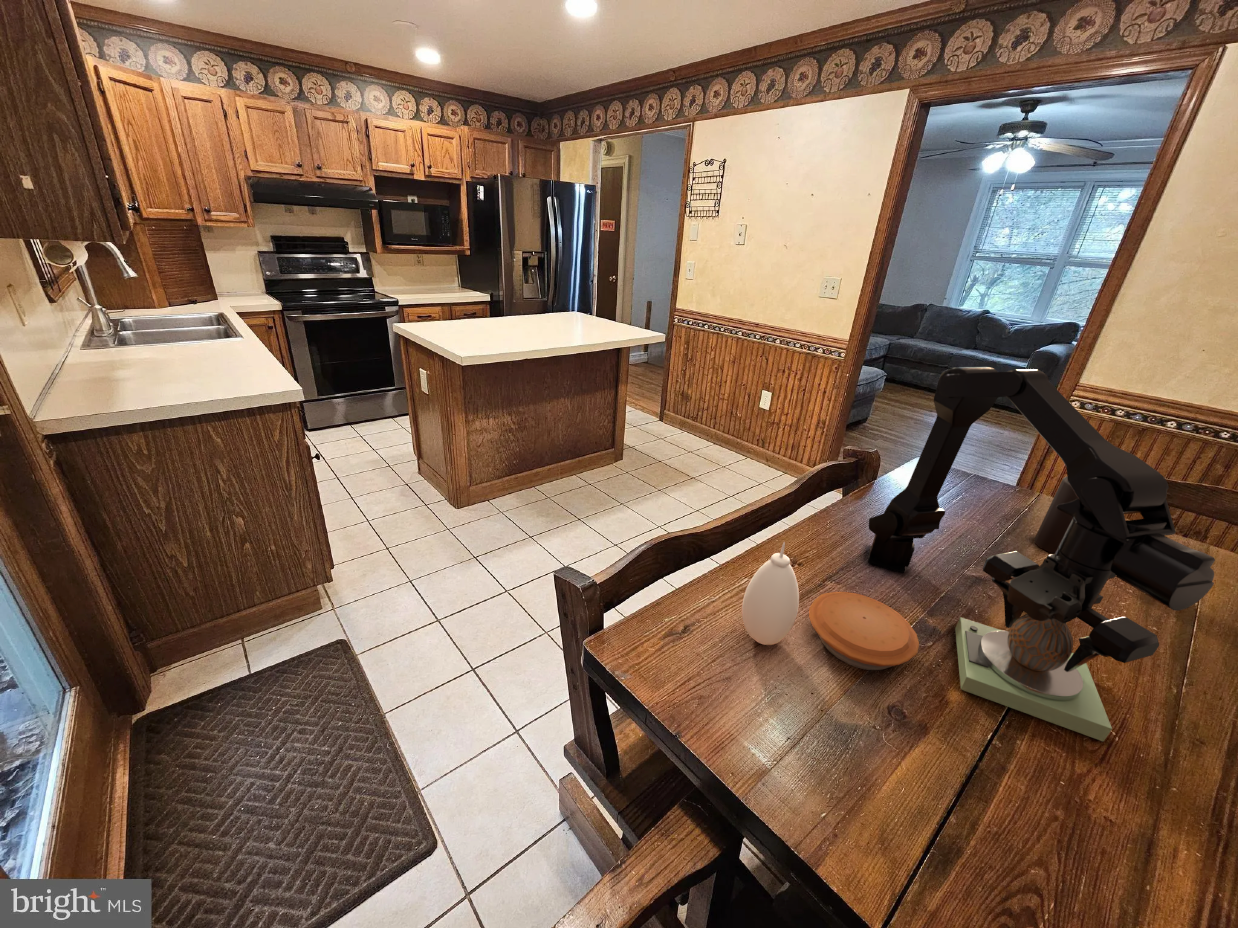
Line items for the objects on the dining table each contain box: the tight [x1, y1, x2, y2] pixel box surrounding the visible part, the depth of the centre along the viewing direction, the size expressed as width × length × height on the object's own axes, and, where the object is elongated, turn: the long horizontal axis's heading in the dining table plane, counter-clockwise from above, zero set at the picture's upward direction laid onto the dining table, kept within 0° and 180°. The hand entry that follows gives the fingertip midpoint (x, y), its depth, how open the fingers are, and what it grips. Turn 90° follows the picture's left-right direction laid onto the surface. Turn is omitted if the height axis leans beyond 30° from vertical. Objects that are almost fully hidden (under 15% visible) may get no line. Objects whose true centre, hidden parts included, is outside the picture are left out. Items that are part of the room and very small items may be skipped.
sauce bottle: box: [741, 541, 800, 646], centre depth 76 cm, size 8×8×18 cm
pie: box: [808, 591, 920, 671], centre depth 79 cm, size 15×16×5 cm
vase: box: [1007, 613, 1074, 671], centre depth 72 cm, size 7×7×9 cm
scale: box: [954, 616, 1113, 742], centre depth 74 cm, size 16×14×3 cm
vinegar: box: [1033, 476, 1078, 555], centre depth 104 cm, size 7×7×20 cm
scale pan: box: [979, 630, 1083, 700], centre depth 74 cm, size 12×12×1 cm
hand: (1036, 647), depth 72 cm, fingers open, 8 cm apart
